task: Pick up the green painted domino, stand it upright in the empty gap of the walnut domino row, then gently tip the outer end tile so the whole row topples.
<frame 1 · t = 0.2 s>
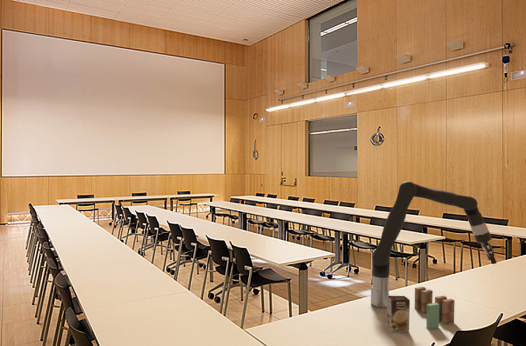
hand: (492, 261, 195), 31 cm above the table, tool tilted 20°, fingers open, 8 cm apart
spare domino: (432, 327, 186), on the table
domino 1: (448, 322, 192), on the table
domino 4: (426, 312, 206), on the table
domino 5: (420, 308, 211), on the table
domino 2: (440, 319, 197), on the table
coffee box: (397, 329, 184), on the table
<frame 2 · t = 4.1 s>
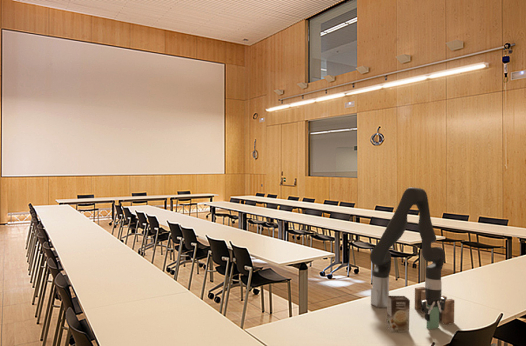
hand: (432, 319, 186), 4 cm above the table, tool pointing down, fingers closed on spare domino, 6 cm apart
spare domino: (432, 327, 186), on the table, touching gripper
everything else where it was.
when the fingers open (5 cm above the table, at t = 11.0 s): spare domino stays where it is, on the table.
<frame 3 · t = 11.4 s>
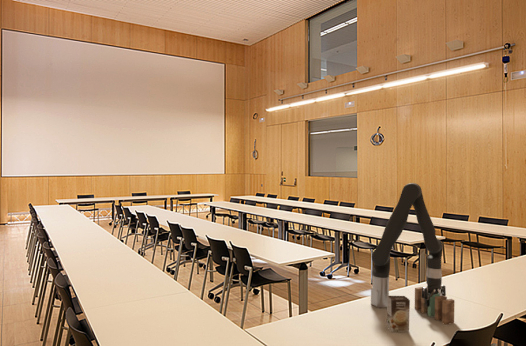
hand: (433, 305, 201), 6 cm above the table, tool pointing down, fingers open, 8 cm apart
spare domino: (433, 315, 201), on the table
everything else where it was.
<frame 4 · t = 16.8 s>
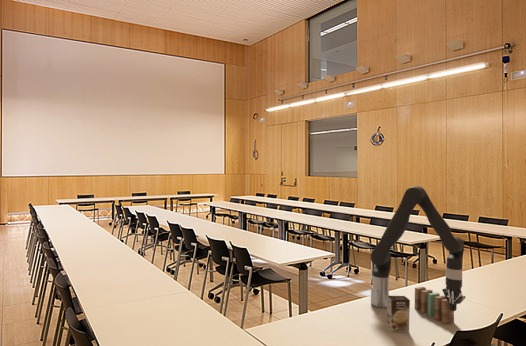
hand: (453, 310, 189), 8 cm above the table, tool pointing down, fingers closed
nothing on the table moved.
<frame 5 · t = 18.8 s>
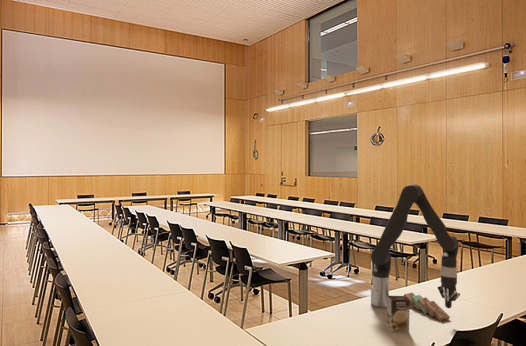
hand: (448, 307, 192), 8 cm above the table, tool pointing down, fingers closed
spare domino: (430, 312, 204), point 1 cm above the table, tilted 67°, touching domino 2, domino 4
domino 1: (445, 319, 195), point 1 cm above the table, tilted 67°, touching domino 2
domino 4: (422, 308, 209), point 1 cm above the table, tilted 70°, touching domino 5, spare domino
domino 5: (417, 307, 212), on the table, tilted 90°, touching domino 4
domino 2: (437, 315, 199), point 1 cm above the table, tilted 67°, touching domino 1, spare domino
everything else where it was.
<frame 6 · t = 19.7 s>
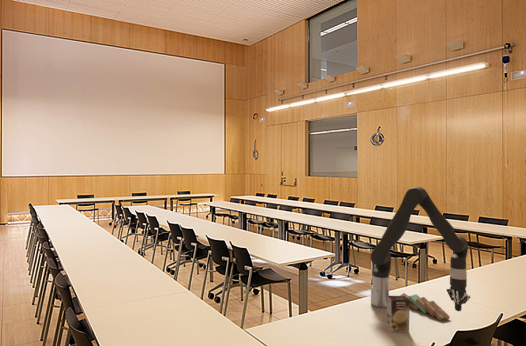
hand: (458, 310, 187), 9 cm above the table, tool pointing down, fingers closed
domino 4: (419, 307, 210), point 1 cm above the table, tilted 74°, touching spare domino
domino 5: (416, 307, 213), on the table, tilted 90°
domino 2: (437, 314, 200), point 1 cm above the table, tilted 66°, touching domino 1, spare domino
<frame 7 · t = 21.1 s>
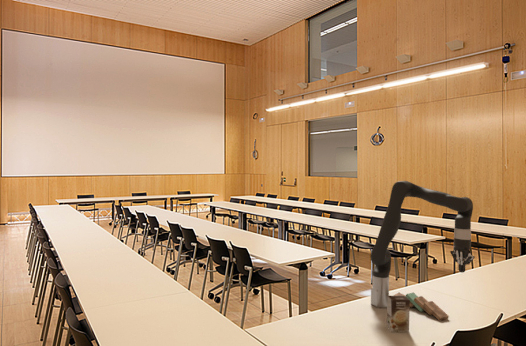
hand: (461, 272, 184), 29 cm above the table, tool pointing down, fingers closed
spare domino: (425, 309, 207), point 1 cm above the table, tilted 64°, touching domino 2, domino 4
domino 4: (415, 304, 212), point 2 cm above the table, tilted 81°, touching domino 5, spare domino
domino 5: (413, 306, 214), on the table, tilted 90°, touching domino 4
domino 2: (434, 313, 202), point 1 cm above the table, tilted 66°, touching domino 1, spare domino
everything else where it was.
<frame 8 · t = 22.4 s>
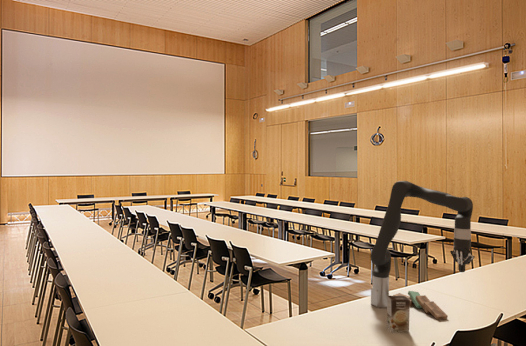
hand: (461, 271, 184), 29 cm above the table, tool pointing down, fingers closed
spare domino: (422, 306, 210), point 1 cm above the table, tilted 70°, touching domino 4
domino 4: (413, 301, 216), point 2 cm above the table, tilted 90°, touching domino 5, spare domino
domino 5: (414, 305, 215), on the table, tilted 90°, touching domino 4
domino 2: (432, 312, 204), point 1 cm above the table, tilted 69°, touching domino 1
at the end: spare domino inside the target area (3.4 cm from its centre), point 1.4 cm above the table; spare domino tilted 70°; domino 5 tilted 90° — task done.
